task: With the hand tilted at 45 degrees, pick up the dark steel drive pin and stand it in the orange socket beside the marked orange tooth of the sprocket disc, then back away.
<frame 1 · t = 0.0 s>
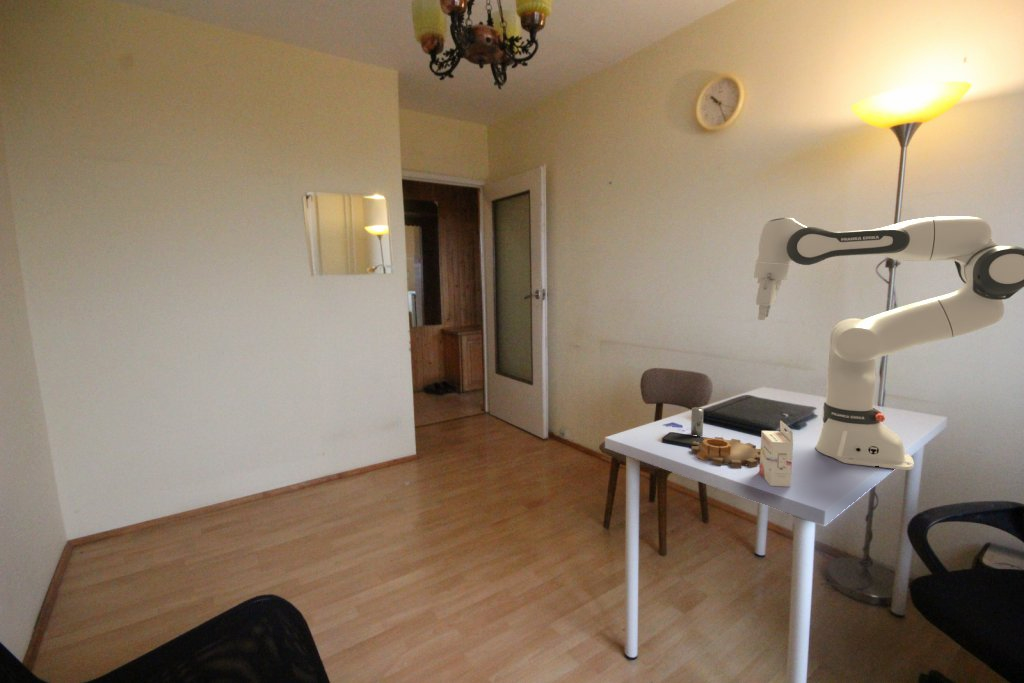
hand: (763, 318, 142), 39 cm above the table, tool pointing down, fingers open, 8 cm apart
sprocket: (726, 453, 136), on the table
drive pin: (696, 435, 152), on the table
ink cartridge box: (773, 480, 119), on the table
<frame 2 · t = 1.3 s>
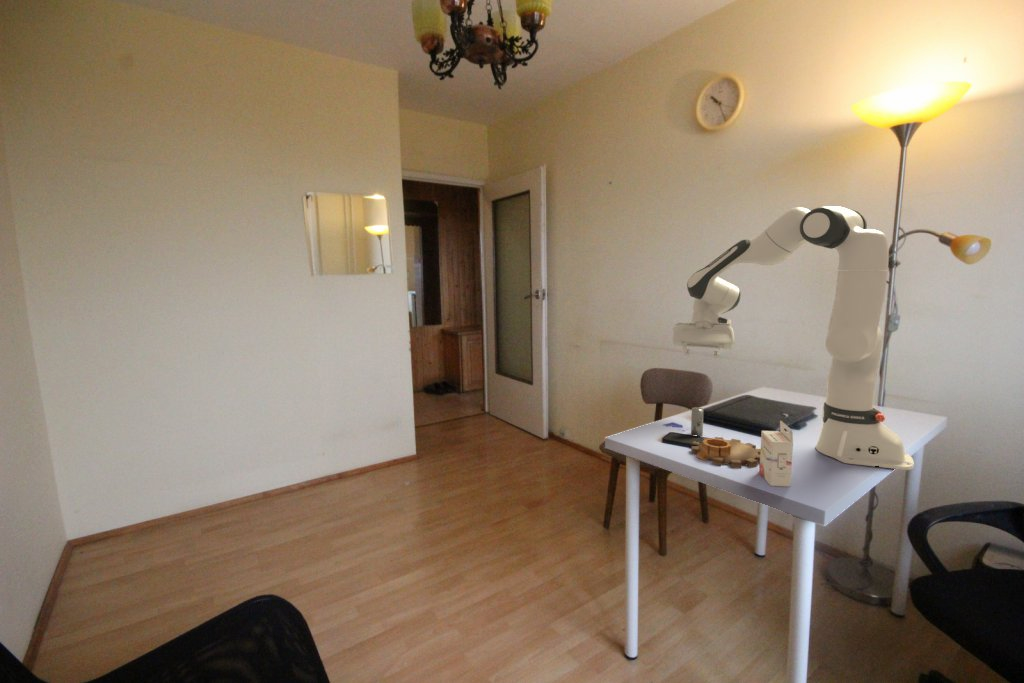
hand: (701, 355, 160), 25 cm above the table, tool tilted 45°, fingers open, 8 cm apart
nothing on the table moved.
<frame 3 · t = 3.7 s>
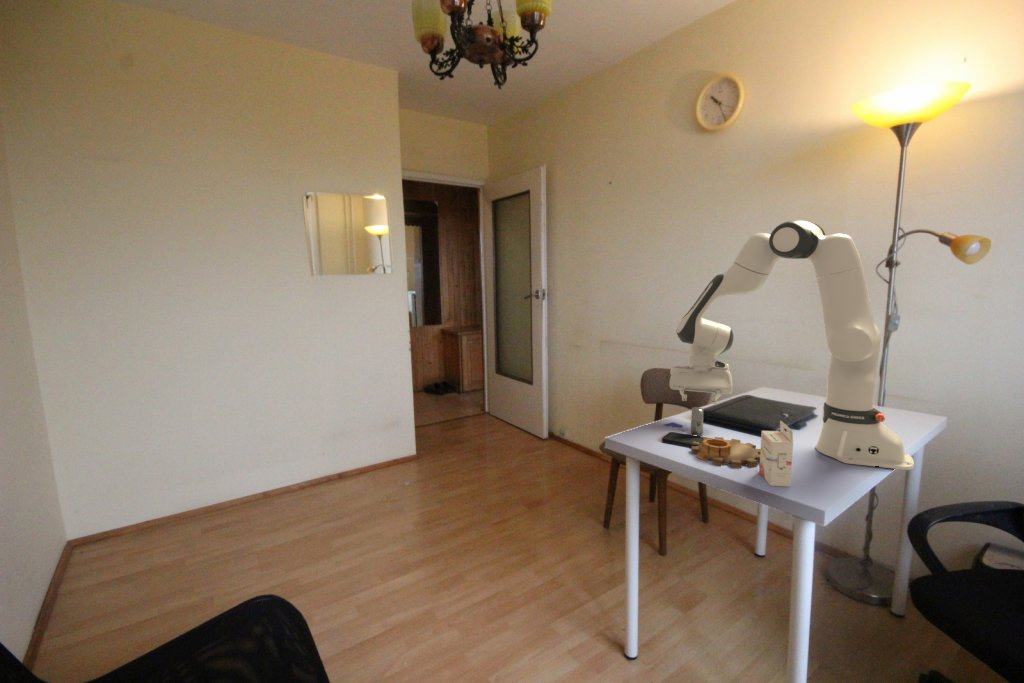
hand: (698, 401, 156), 10 cm above the table, tool tilted 45°, fingers open, 8 cm apart
nothing on the table moved.
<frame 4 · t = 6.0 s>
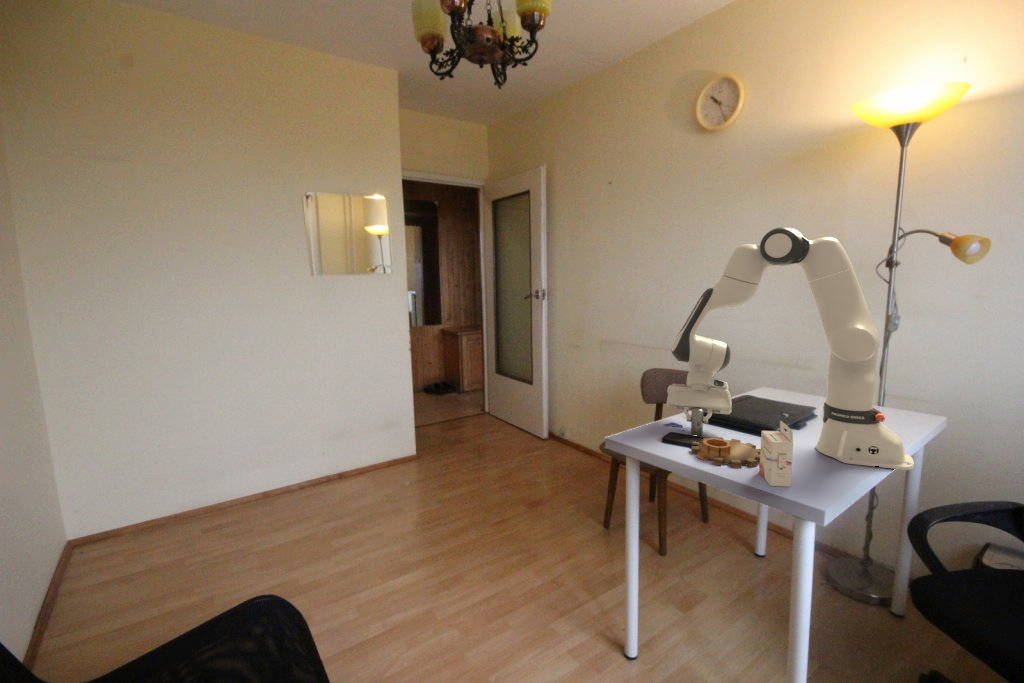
hand: (697, 421, 151), 5 cm above the table, tool tilted 45°, fingers closed on drive pin, 4 cm apart
drive pin: (696, 435, 152), on the table, touching gripper
everything else where it was.
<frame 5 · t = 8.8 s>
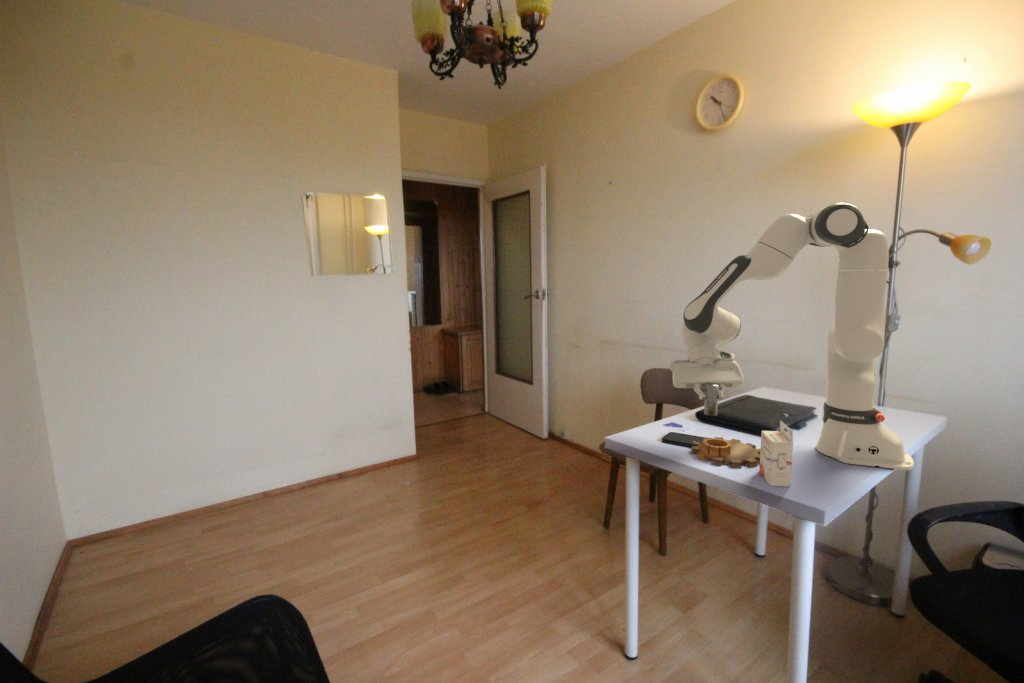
hand: (712, 398, 136), 16 cm above the table, tool tilted 45°, fingers closed on drive pin, 4 cm apart
drive pin: (710, 413, 137), point 11 cm above the table, touching gripper
everything else where it was.
when the fingers open (7 cm above the table, at t = 12.0 s): drive pin stays where it is, resting on sprocket.
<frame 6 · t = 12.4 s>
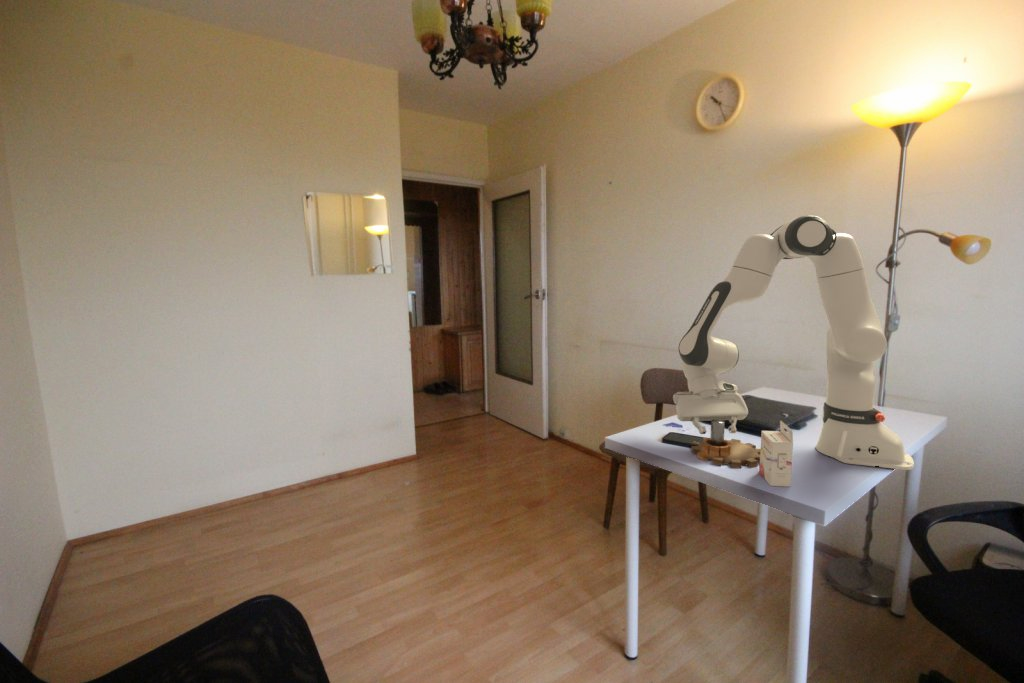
hand: (718, 432, 133), 7 cm above the table, tool tilted 45°, fingers open, 7 cm apart
drive pin: (716, 451, 135), point 2 cm above the table, touching sprocket
everything else where it was.
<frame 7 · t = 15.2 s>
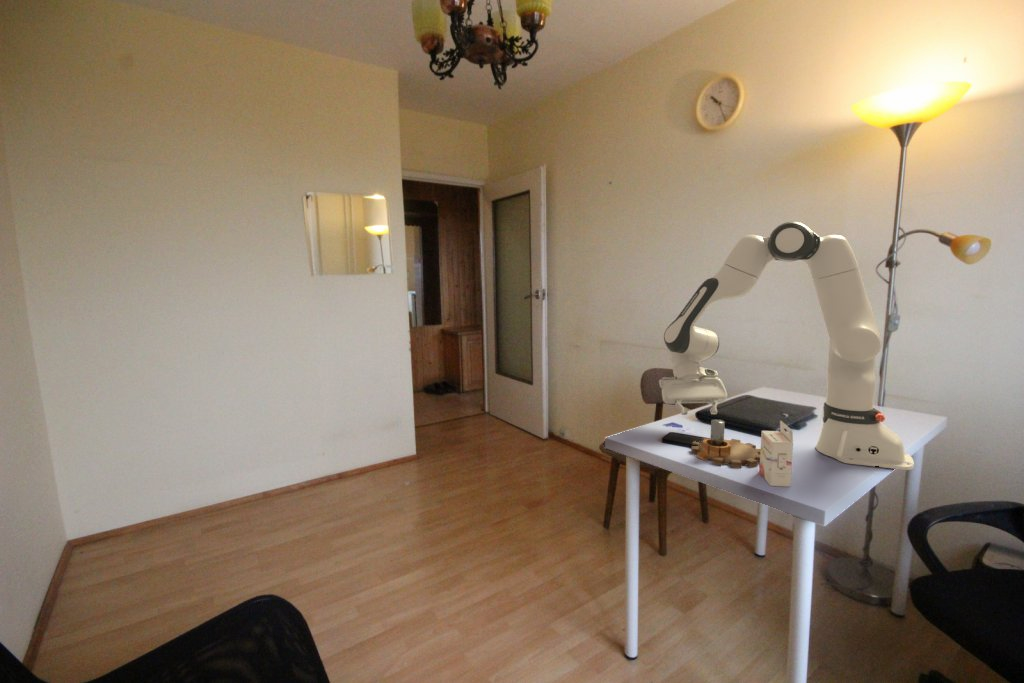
hand: (699, 413, 146), 9 cm above the table, tool tilted 45°, fingers open, 8 cm apart
nothing on the table moved.
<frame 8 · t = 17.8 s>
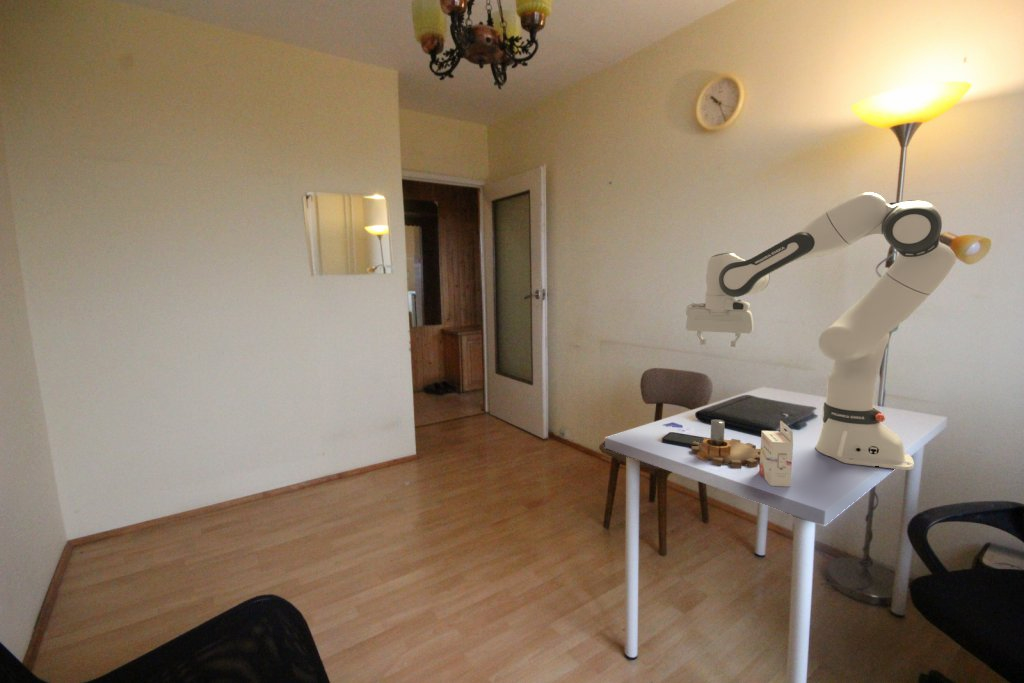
hand: (717, 345, 152), 29 cm above the table, tool pointing down, fingers open, 8 cm apart
nothing on the table moved.
at the end: drive pin 0.1 cm from the target spot on the sprocket, point 1.5 cm above the sprocket's base; drive pin tilted 0°; the gripper is holding nothing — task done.
